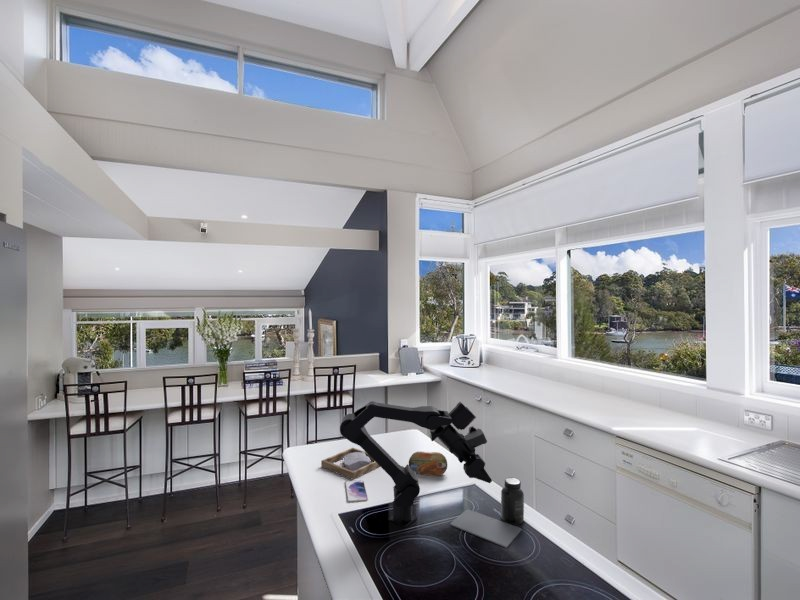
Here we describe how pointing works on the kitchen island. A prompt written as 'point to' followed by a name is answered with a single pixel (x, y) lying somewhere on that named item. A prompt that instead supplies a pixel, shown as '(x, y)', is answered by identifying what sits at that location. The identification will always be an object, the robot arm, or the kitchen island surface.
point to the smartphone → (355, 491)
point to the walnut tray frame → (343, 471)
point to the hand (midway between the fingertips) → (486, 475)
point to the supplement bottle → (512, 502)
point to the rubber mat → (486, 527)
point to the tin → (428, 463)
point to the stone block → (356, 460)
